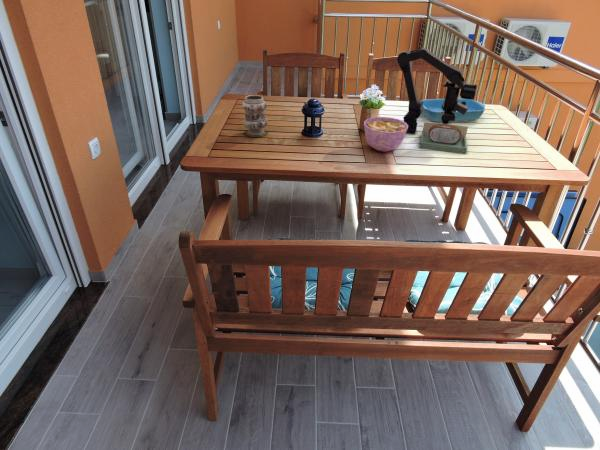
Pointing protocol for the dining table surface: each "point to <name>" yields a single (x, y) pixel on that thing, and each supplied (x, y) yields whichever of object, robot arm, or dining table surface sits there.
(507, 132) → the dining table surface
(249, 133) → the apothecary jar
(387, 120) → the bowl of food
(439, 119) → the casserole dish
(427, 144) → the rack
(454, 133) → the tin
